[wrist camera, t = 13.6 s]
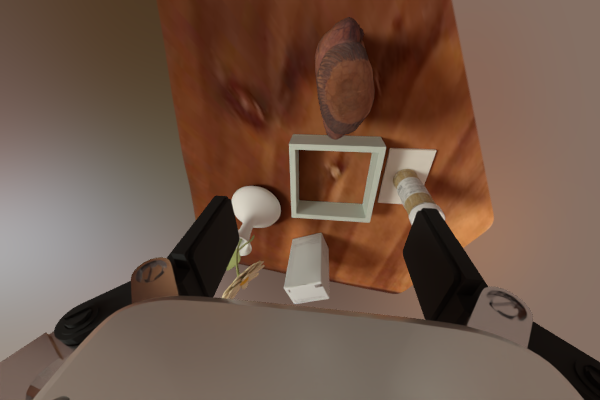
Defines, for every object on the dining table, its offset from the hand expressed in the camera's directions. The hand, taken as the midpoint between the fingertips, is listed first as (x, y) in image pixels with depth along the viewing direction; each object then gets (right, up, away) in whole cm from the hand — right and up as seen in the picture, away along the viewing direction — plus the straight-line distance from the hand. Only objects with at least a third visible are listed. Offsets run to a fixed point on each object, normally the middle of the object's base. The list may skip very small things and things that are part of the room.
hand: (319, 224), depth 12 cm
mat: (+20, +6, +33) cm, 39 cm away
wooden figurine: (+6, +22, +24) cm, 33 cm away
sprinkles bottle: (+20, +6, +32) cm, 38 cm away
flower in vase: (-10, +1, +40) cm, 42 cm away
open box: (+6, +7, +34) cm, 35 cm away
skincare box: (+2, -10, +46) cm, 47 cm away
